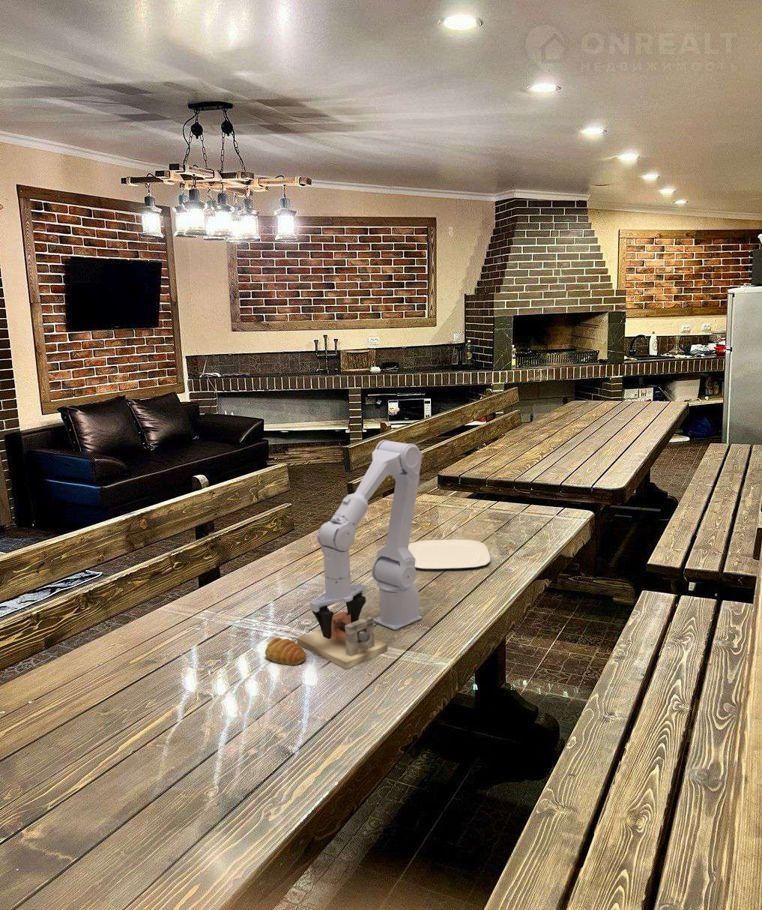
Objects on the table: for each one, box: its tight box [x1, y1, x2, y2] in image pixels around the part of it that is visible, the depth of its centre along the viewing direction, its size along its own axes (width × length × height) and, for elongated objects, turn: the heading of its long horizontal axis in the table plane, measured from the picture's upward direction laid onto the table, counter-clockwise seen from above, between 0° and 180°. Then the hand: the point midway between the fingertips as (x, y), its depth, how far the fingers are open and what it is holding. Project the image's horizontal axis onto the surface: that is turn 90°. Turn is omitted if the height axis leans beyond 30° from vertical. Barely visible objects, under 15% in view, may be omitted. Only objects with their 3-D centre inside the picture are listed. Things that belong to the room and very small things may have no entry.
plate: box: [408, 538, 491, 570], centre depth 230 cm, size 25×25×2 cm
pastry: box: [264, 637, 307, 666], centre depth 169 cm, size 9×7×4 cm
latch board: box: [296, 615, 388, 670], centre depth 172 cm, size 12×18×8 cm
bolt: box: [331, 610, 370, 642], centre depth 169 cm, size 4×10×5 cm, turn 43°
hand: (340, 631), depth 173 cm, fingers open, 7 cm apart
